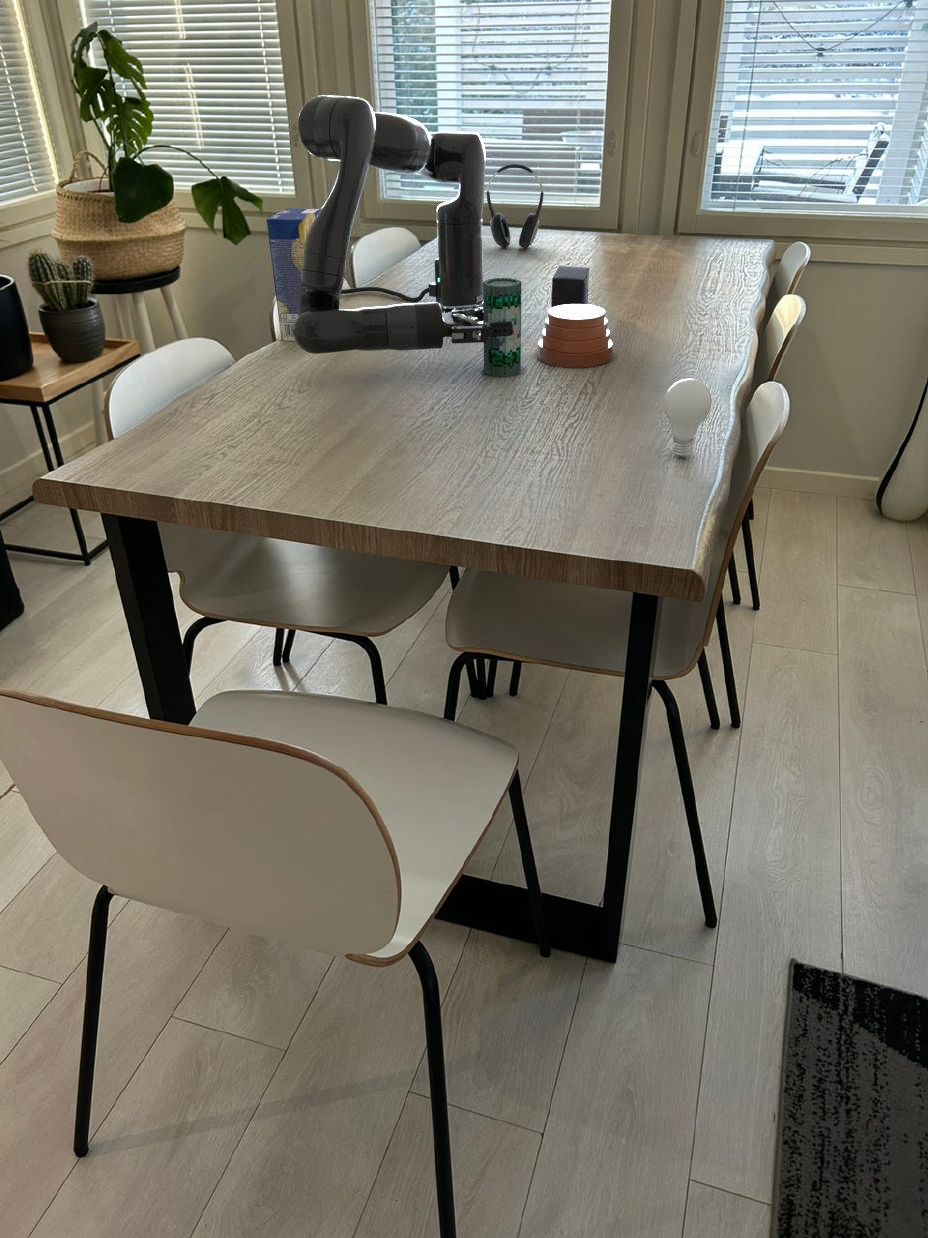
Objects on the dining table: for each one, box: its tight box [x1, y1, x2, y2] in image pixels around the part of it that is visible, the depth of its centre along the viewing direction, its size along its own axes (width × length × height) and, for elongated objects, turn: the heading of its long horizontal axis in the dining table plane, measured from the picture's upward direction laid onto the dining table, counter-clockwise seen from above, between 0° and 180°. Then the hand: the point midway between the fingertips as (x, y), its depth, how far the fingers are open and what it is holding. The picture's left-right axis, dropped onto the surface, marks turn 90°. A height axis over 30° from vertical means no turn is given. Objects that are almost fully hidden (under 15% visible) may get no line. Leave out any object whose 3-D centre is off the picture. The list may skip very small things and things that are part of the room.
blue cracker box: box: [266, 208, 321, 342], centre depth 186 cm, size 7×11×22 cm, turn 170°
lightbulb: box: [663, 378, 713, 458], centre depth 133 cm, size 6×6×11 cm
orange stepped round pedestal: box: [537, 304, 613, 369], centre depth 173 cm, size 13×13×8 cm
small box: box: [550, 265, 590, 309], centre depth 188 cm, size 11×6×10 cm, turn 168°
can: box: [482, 277, 522, 378], centre depth 165 cm, size 6×6×15 cm
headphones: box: [486, 163, 545, 249], centre depth 249 cm, size 9×15×20 cm, turn 77°
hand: (508, 321), depth 165 cm, fingers open, 8 cm apart
